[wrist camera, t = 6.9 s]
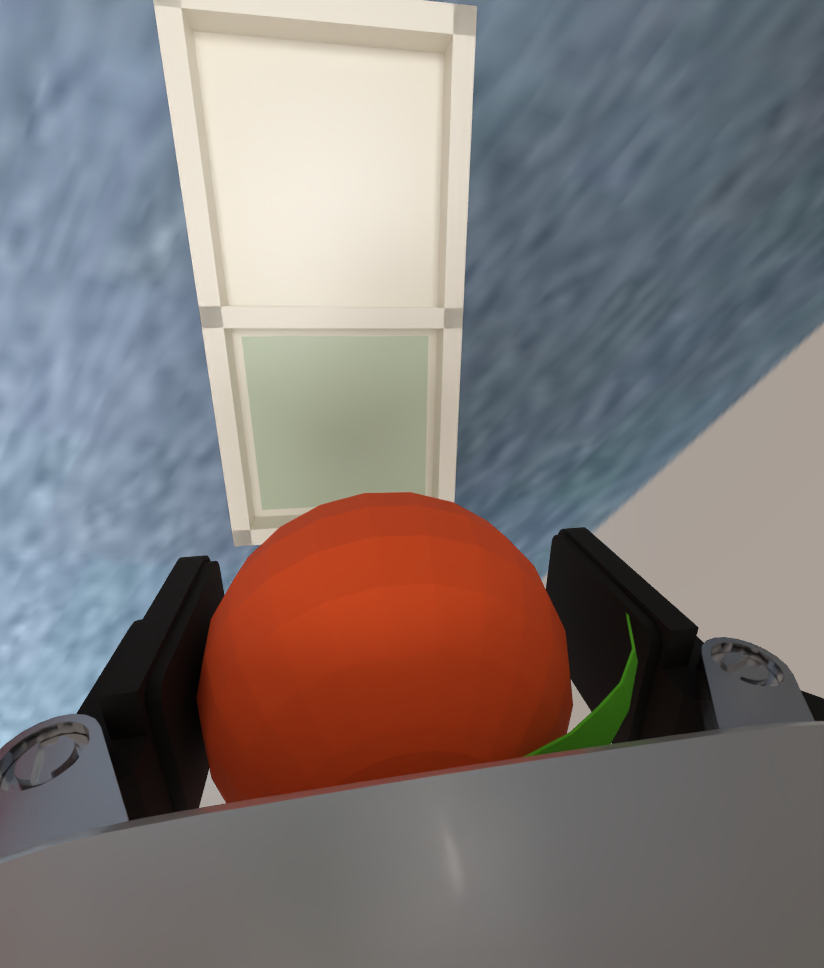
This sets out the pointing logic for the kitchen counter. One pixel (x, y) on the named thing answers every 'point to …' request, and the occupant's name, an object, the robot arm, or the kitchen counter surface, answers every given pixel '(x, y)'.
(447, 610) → the clementine
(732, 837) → the robot arm
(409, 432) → the two-compartment tray
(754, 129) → the kitchen counter surface
